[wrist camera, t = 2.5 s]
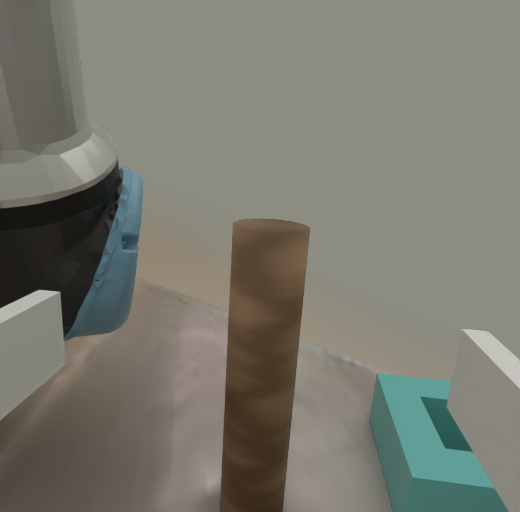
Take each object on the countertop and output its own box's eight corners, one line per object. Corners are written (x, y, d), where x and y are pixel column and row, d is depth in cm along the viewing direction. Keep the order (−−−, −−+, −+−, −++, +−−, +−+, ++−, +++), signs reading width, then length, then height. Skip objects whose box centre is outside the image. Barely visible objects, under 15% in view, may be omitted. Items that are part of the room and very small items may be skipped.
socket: (400, 539, 25) (412, 477, 24) (369, 419, 37) (376, 373, 36) (594, 567, 24) (618, 504, 23) (500, 435, 36) (513, 388, 35)
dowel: (214, 528, 25) (226, 229, 20) (226, 475, 30) (239, 216, 24) (280, 538, 25) (310, 236, 20) (284, 483, 29) (309, 222, 24)
